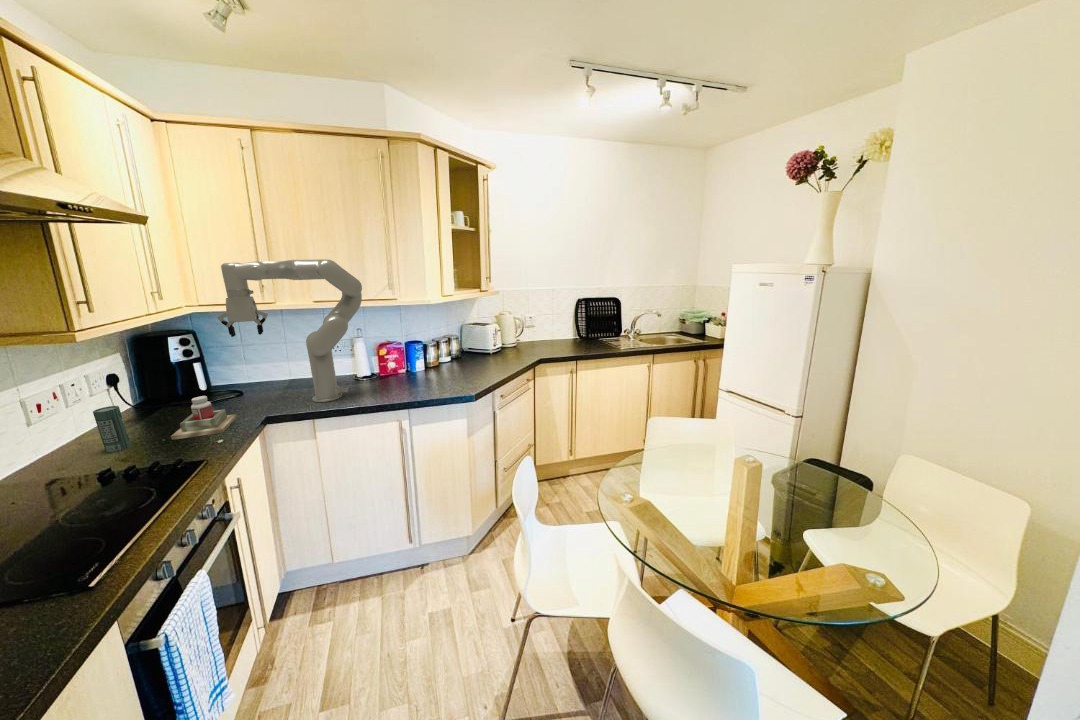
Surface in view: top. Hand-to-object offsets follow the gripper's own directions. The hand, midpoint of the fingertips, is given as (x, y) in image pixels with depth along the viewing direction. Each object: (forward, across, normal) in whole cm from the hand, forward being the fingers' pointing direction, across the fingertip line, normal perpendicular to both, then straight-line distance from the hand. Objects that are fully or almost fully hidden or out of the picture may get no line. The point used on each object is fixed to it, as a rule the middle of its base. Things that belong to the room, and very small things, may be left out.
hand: (247, 335), depth 170 cm
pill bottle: (+32, +16, +14) cm, 38 cm away
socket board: (+33, +16, +14) cm, 40 cm away
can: (+34, +39, +23) cm, 56 cm away
